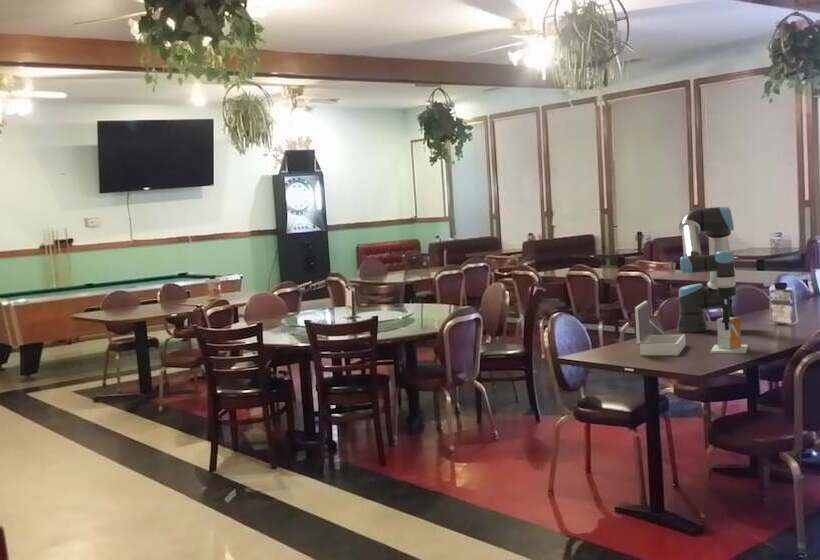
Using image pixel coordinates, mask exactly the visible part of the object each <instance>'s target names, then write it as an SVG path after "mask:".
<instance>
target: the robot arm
mask: <svg viewBox="0 0 820 560" xmlns="http://www.w3.org/2000/svg"><path fill="white" fill-rule="evenodd" d="M734 228H735V226H734V221H733V215H732V211H731V209H730V207H729V206H717V207H715V206H714V207H704V208H694V209H692V210H690V211H689V212H687V213H685V215H683V217H682V218H681V220H680V222H679V225H678V230H679V234H680V235H681V239H682V249H683V251H682V252H683V256H681V257H679V260H680V261H679V264H680V272H681V273H682V274H684V273H685V274H692V273H709V280H708V282H707V283H706V285H707V286H706V285H705V286H704V285H703V284H702V283H695V284H693V283H692V284H689V285H684V286H681V287H680V288H679V289H678V300H679V301H678V302H679V319H678V322H677V324H676V325H677V327H676V331H677V332H678V333H679V332H680V333H703V332H708V331H709V324H708V322H707V319H706V317H705V310H722V318H723V321H722V323H723V326H724V338H731V328H730V317H735V314H734V313H733V307H734V304H735V299H736V295H737V287H736V273H735V272H736V271H735V259H736V258H735V254H734V251H732V250H729V247H728V244H729V243H728V241H729V240H728V237H729V236H730V235H731V234H732V233H731V231H732V232H733V231H734V230H735V229H734ZM700 233H704V234H705V237H707V238H708V252H709V254H707V255H706V254H703V255H702V249H701V242H700Z"/></svg>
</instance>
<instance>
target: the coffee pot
mask: <svg viewBox="0 0 820 560" xmlns="http://www.w3.org/2000/svg"><path fill="white" fill-rule="evenodd" d="M663 310H664V308H660V309H659V312H658V314H657V315H649V320H650V321H651V322H652V323H653V324H655V325H656V326H657V327H658V328H659V329H660V330H661V331H662V332H663V333H664V334H662V333H661V332H660V331H659V330H658V329H656V328H655V327H654V326H653V325H652V324H651V323H650V334H649V335H667V333H666V331H665V330H664V328H663V325H662V323H661V322H660V320H661V318H662V316H661V315H662V313H664V312H665V310H664V311H663Z"/></svg>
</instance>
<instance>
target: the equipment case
mask: <svg viewBox="0 0 820 560" xmlns="http://www.w3.org/2000/svg"><path fill="white" fill-rule="evenodd" d="M649 307H650V305H649V302H648V300H644V301H643V302H641V303H639V304H638V305H636V306H635V307H634V312H635V313H634V315H635V316H634V317H635V318H634V319H635V331H636V332H635V334H636V345H637V346H639V352H640V356H679V355H680V353H681V352H682V351H683V349H684V348H685V347H686V334H666V335H649V334H650V323H651V324H652V325H653V326H654V327H655V328H656V329H658V330H659V331H660V332H661V333H662V334H664V333H663V332H662V331H661V330H660V329H659V328H658V327H657V326H656V325H655V324H653V323H652V322H651V321H650V320H649V316H650V308H649Z"/></svg>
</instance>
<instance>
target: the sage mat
mask: <svg viewBox="0 0 820 560" xmlns="http://www.w3.org/2000/svg"><path fill="white" fill-rule="evenodd" d="M748 348H749V344H741V347H737V348H732V349H723V348H718V344H713V347H712V348H711V350H710V354H747V350H748Z"/></svg>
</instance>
